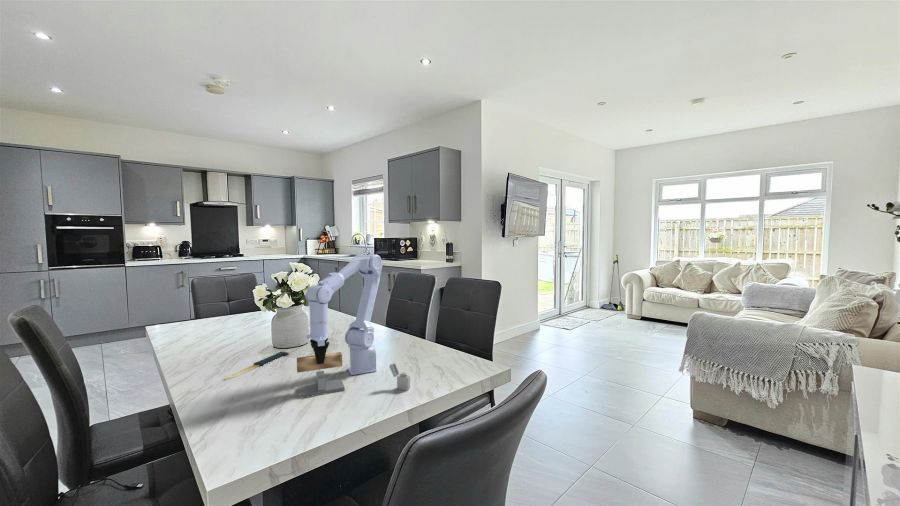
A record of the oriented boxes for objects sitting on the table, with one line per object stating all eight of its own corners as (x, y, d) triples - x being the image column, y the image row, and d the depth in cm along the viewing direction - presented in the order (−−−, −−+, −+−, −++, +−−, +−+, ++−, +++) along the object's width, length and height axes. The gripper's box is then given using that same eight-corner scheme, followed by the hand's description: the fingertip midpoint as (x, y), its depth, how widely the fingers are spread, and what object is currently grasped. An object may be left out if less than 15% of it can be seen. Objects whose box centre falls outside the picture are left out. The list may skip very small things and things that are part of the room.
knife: (288, 352, 158) (229, 378, 130) (288, 355, 159) (229, 382, 130) (280, 351, 160) (219, 376, 131) (280, 355, 160) (219, 381, 131)
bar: (341, 363, 127) (340, 352, 127) (342, 366, 124) (341, 354, 124) (297, 369, 121) (296, 357, 121) (297, 372, 118) (296, 360, 118)
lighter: (410, 388, 122) (410, 365, 122) (407, 390, 120) (407, 366, 120) (392, 385, 125) (391, 362, 124) (389, 387, 123) (389, 363, 123)
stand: (341, 381, 128) (340, 367, 128) (344, 390, 121) (344, 375, 121) (297, 388, 123) (297, 374, 122) (298, 398, 115) (298, 382, 115)
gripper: (305, 318, 127) (306, 357, 128) (307, 327, 114) (308, 370, 114) (326, 316, 130) (327, 354, 130) (331, 325, 117) (331, 367, 117)
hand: (319, 361), depth 123 cm, fingers closed on bar, 3 cm apart
